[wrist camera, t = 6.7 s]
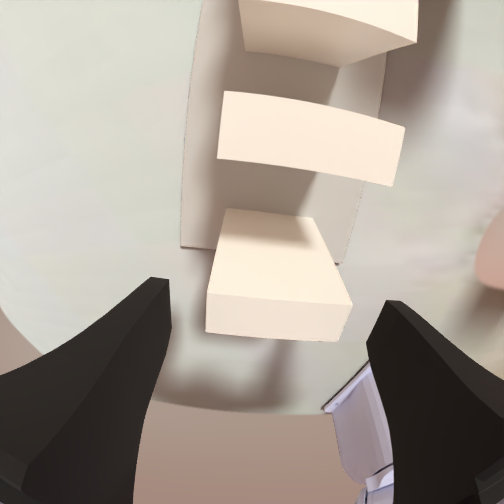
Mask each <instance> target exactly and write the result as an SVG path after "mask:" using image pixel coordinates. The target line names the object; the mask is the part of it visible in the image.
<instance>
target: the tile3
mask: <svg viewBox="0 0 504 504" xmlns="http://www.w3.org/2000/svg"><path fill="white" fill-rule="evenodd" d="M238 2H239V9H240V16H241V24H242V31H243V38H244V46H245V51H246V52H256V53H264V54H272V55H279V56H285V57H291V58H297V59H302V60H307V61H312V62H317V63H321V64H326V65H330V66H334V67H338V68H341V67H344V66H347V65H349V64H352V63H355V62H357V61H360V60H363V59H366V58H369V57H372V56H375V55H378V54H381V53H384V52H387V51H390V50H393V49H397V48H400V47H404V46H407V45H411V44H414V43H417V28H418V0H238Z"/></svg>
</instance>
